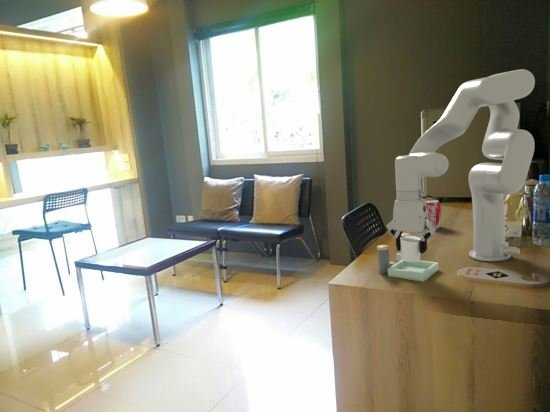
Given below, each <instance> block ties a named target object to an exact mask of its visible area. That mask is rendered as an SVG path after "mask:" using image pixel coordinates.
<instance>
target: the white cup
mask: <svg viewBox="0 0 550 412" xmlns="http://www.w3.org/2000/svg"><path fill="white" fill-rule="evenodd" d="M400 241H401V252H400V253H401V259H402V260H403V261H406V262H418V261H419V260H421V253H420V244H419V242H420V241H421V239H420V237H419V235H412V234H410V235H406V236H402V237H401V238H400Z"/></svg>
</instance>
